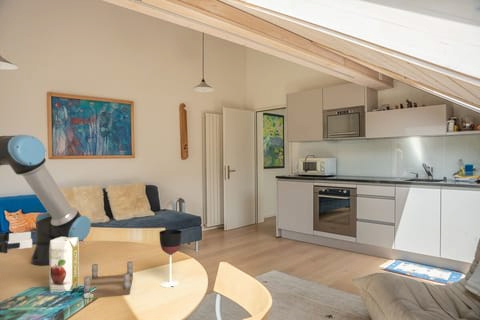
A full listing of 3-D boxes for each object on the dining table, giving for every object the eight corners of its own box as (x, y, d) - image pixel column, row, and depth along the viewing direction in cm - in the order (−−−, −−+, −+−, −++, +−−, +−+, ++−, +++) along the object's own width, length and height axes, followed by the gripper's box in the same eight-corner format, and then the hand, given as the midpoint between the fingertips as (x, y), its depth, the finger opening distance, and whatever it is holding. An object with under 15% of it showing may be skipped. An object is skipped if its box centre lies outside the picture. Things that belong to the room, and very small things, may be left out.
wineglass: (171, 289, 120) (171, 235, 120) (154, 284, 124) (154, 232, 124) (185, 282, 127) (186, 231, 127) (169, 278, 131) (169, 228, 131)
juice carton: (60, 285, 123) (60, 235, 123) (81, 286, 122) (81, 236, 122) (46, 293, 116) (46, 240, 116) (68, 295, 115) (68, 241, 115)
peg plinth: (92, 282, 127) (92, 264, 127) (132, 278, 131) (132, 261, 131) (83, 299, 111) (83, 278, 111) (129, 294, 115) (129, 275, 115)
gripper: (-44, 250, 111) (30, 242, 123) (-58, 270, 91) (32, 258, 103) (-44, 228, 111) (30, 222, 123) (-57, 243, 91) (32, 234, 103)
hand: (31, 239), depth 113 cm, fingers open, 13 cm apart
